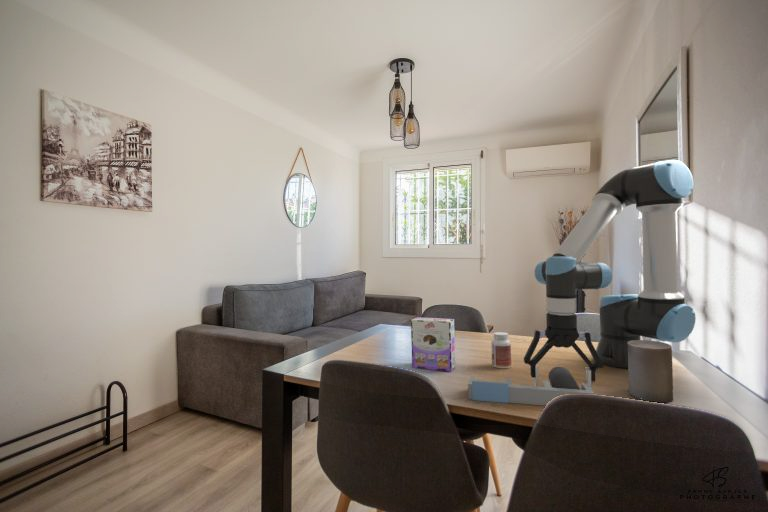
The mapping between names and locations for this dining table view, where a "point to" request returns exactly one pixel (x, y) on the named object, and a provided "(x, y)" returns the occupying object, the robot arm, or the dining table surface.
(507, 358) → the pill bottle
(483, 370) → the dining table surface
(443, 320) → the candy box
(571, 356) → the dining table surface
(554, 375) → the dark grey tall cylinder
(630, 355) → the pillar candle
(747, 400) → the dining table surface
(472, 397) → the duct comb
